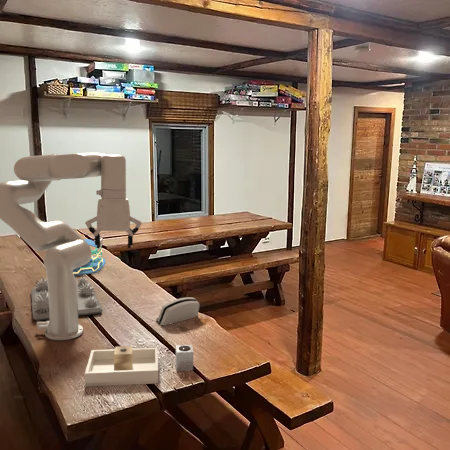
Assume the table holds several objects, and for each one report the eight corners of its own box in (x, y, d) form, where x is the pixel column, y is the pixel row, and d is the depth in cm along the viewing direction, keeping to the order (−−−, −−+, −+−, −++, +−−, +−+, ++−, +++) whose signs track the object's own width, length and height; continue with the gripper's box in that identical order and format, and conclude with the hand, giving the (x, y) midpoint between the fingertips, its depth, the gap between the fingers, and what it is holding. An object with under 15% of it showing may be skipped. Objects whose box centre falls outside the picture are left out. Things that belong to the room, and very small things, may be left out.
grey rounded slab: (190, 312, 182) (196, 292, 178) (197, 319, 179) (203, 299, 175) (154, 321, 171) (159, 300, 167) (161, 329, 168) (166, 308, 164)
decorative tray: (103, 315, 176) (103, 291, 174) (31, 324, 166) (29, 298, 164) (90, 287, 207) (90, 266, 206) (29, 293, 197) (28, 271, 195)
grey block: (176, 371, 136) (176, 352, 135) (175, 363, 141) (175, 344, 140) (193, 370, 137) (193, 351, 136) (191, 362, 142) (192, 344, 140)
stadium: (66, 257, 256) (65, 232, 253) (109, 257, 258) (109, 233, 255) (47, 275, 222) (46, 247, 219) (97, 276, 224) (96, 248, 221)
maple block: (114, 373, 131) (113, 354, 130) (115, 365, 136) (115, 346, 135) (131, 373, 132) (131, 353, 131) (132, 364, 137) (132, 345, 135)
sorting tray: (85, 386, 126) (84, 373, 125) (91, 362, 139) (91, 350, 138) (158, 383, 129) (158, 370, 128) (157, 359, 142) (157, 347, 142)
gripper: (83, 195, 137) (84, 250, 140) (141, 196, 140) (141, 250, 143) (86, 192, 144) (87, 244, 148) (141, 193, 147) (141, 244, 150)
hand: (114, 247), depth 145 cm, fingers open, 9 cm apart
